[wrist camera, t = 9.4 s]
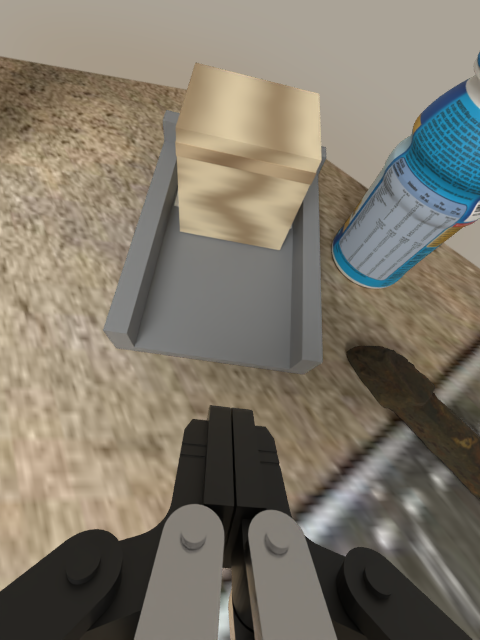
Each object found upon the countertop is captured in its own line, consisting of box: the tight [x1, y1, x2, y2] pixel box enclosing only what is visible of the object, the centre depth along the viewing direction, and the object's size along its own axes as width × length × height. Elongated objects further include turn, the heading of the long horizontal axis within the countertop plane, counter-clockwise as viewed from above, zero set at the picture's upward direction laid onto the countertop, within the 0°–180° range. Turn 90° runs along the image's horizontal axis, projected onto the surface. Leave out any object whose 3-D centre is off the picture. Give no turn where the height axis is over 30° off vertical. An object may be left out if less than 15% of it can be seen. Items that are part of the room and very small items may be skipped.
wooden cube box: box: [175, 63, 322, 250], centre depth 25 cm, size 10×8×10 cm
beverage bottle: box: [332, 52, 480, 289], centre depth 23 cm, size 8×8×20 cm
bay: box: [103, 110, 326, 374], centre depth 26 cm, size 16×22×6 cm
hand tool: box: [347, 346, 480, 499], centre depth 23 cm, size 19×4×5 cm, turn 41°
